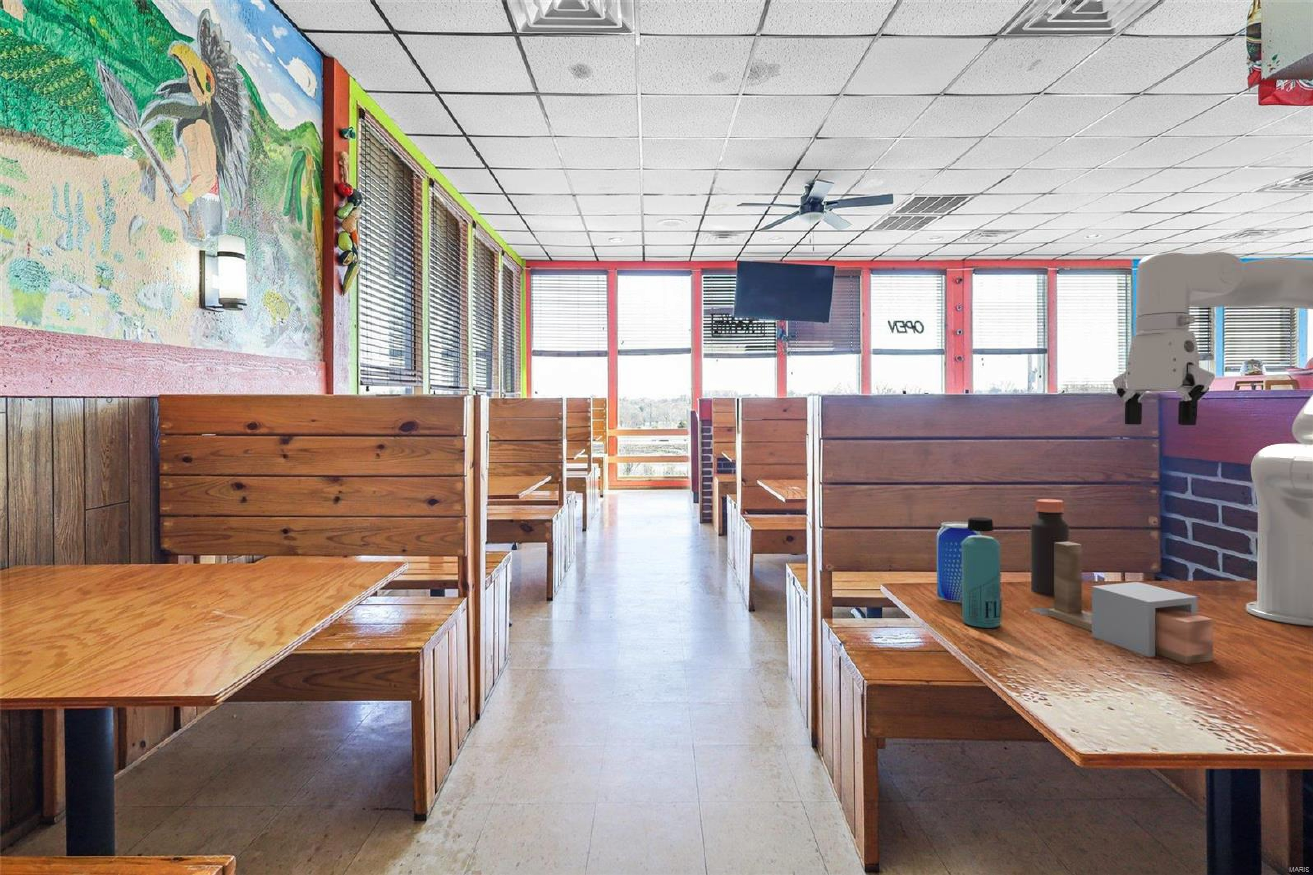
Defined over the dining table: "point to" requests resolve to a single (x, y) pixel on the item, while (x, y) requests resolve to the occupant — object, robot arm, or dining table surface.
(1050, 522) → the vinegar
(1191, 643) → the sled
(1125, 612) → the tunnel
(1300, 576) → the robot arm
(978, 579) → the beverage bottle
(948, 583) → the beer can
